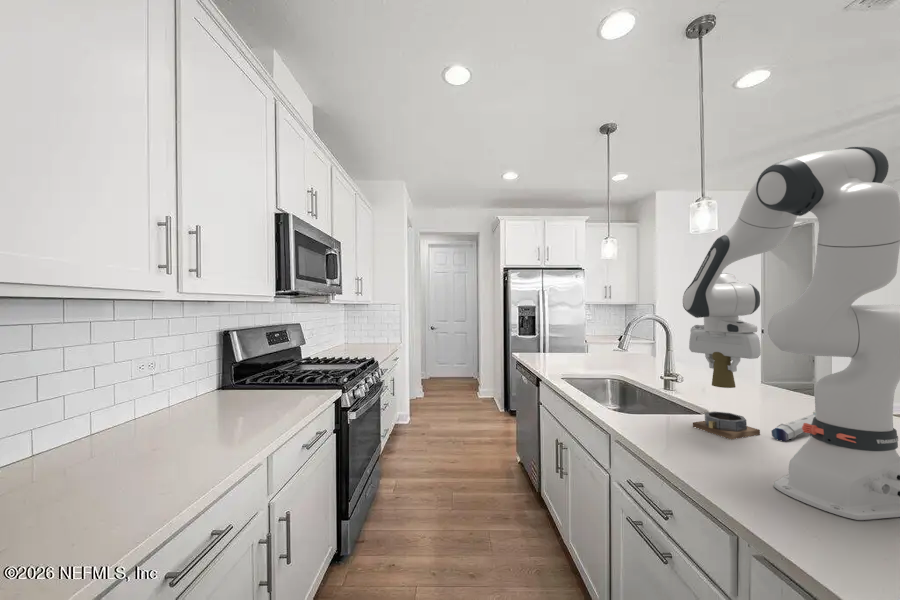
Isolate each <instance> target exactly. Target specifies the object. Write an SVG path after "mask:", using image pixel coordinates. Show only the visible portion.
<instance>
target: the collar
mask: <svg viewBox="0 0 900 600" xmlns="http://www.w3.org/2000/svg"><path fill="white" fill-rule="evenodd" d="M704 421H705V423H706V425H707V426H709V428H712V429H714V428H715V429H719V430H725V431H734V432H739V431H745V430H747V426H748V425H747V419H746V418H745V417H744V416H743V415H739V414H736V413H731V412H725V411H709V412H708V411H707V412H704Z"/></svg>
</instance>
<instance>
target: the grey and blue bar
mask: <svg viewBox="0 0 900 600" xmlns="http://www.w3.org/2000/svg"><path fill="white" fill-rule="evenodd" d="M814 417H815V410H813V412H812V414H810V415H807V416H805V417H801V418H799V419H795V420H793V421H790V422H787V423H781V424H779V425H777V426H776V427H775V428H773V429H772V430H770V431H771V436H772V437H773V438H774V439H775V440H776V439H778V440H777V441H780V440H782V441H781V442H783V441H785V442H786V441H789V439H791V441H793V440H794V439H796V438H797V436H799V435H801V434H803V433H804V432H803V430H802V426H803V424H804V423H808V424H810V425H811V423H812V421H813V418H814Z"/></svg>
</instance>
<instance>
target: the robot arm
mask: <svg viewBox="0 0 900 600" xmlns="http://www.w3.org/2000/svg"><path fill="white" fill-rule="evenodd" d="M888 172H889V161H888V158H887V156H886V155H885V153H883V152H882V151H881V150H879V149H877V148H874V147H871V146H850V147H845V148H842V149H834V150H833V149H832V150H826V151H825V150H824V151H822V150H821V151H815V152H811V153H808V154H804V155H799V156H797V157H794V158H793V157H792V158H786V159H783V160H780V161H778V162H776V163H774V164H772V165H769V166H768V167H766V168H765V169H764V170H763V171H762V172H761V173H760V175H759V176H758V178H757V179H756V180H755V182H754V183H753V186H751V188H750V190H749V192H748V194H747V196H746V197H745V199H744V202H743V203H742V206H741V208H740V212H739V215H738V217H737V219H736V221H735V222H734V223H733V225H732V226H731V228H729V229H728V230H727V231H726V232H725V233H724V234H723V235H721V236H719V237H717V238H716V239H715V241H714V242H713V244H712V245H711V246H710V248H709V250H708V251H707V253H706V256H705V257H704V259H703V261H702V262H701V265H700V266H699V269H698V271H697V273H696V274H695V277H694V278H693V280H692V281H691V283H690V284H689V285H688V287H687V288H686V289H685V291H684V293H683V296H682V307H683V309H684V311H686V312H687V313H688V314H689V315H690V316H692V317H694V318H696V319H699V318H703V324H702V325H700V324H695V325H693V326H692V327H691V328H690V335H689V345H688V349H689V350H690V352H691V353H696V354H697V353H698V354H705V355H704V357H705V359H706V361H707V362H708V364H709V365H708V367H709V369H712V370H713V369H714V360H713V358H712V354H713V353H714V352H720V353H722V354H723V355H724V356H730V357H731V360H732V361H731V365H728V371H732V372H733V373H736V372H737V367H738V365H739V363H741V359H749V360H754V359H758V358H760V356H761V354H762V349H761V343H760V342H761V341H760V340H761V339H760V337H759V335H758V334H756V333H757V332H758V326H757V325H755V324H754V323H753V324H752V323H750V322H746V321H744V320H741V319H739V317H741V316H749V315H753V314H754V313H755V312H756V311H757V310H758V308H759V307H760V305H761V294H760V291H759V290H758V288H756V287H755V286H754V285H753V284H751V283H746V282H743V281H739V280H738V279H736V276H735V275H734V274H732V273H727V272H724V270H725V269H726V268H727V267H728V266H729V265H732V264H733V263H735V262H738V261H740V260H742V259H743V260H744V259H746V258H749V257H753V256H756V255H760V254H763V253H764V254H765V253H767V252H770V251H772V250H774V249H776V248H777V247H779V246H780V245H782V244H783V243H784V242H785V240H786V239H787V238H788V237H789V235H790V233H791V232H792V229H793V227H794V225H795V222H796V220H797V217H801V216H804V215H806V214H808V213H809V212H810V213H812V214H813V215H814V216H815V217H816V219H817V221H818V232H817V233H818V234H817V243H816V244H817V245H816V246H817V248H816V255H815V262H814V263H815V264H814V269H813V273H812V276H811V277H812V278H811V281H810V282H809V284H808V286H807V287H806V289H805V290H804V292H803V293H801V295H800V296H798V298H797V299H795V300H794V301H793V302H791V303H790V304H788V305H786V306H784V307H783V308H781V309H779V310H777V311H776V312H774V314H773V315H772V316H771V317H770V320H769V322H768V324H767V333H768V336H769V338H770V341H771V342H772V343H773V345H774V346H775V347H776V348H778V349H779V350H780V351H782V352H787V353H791V354H798V355H804V356H809V357H810V356H811V357H812V356H813V357H833V358H834V357H837V358H850V362H849V364H848V366H846V367H845V368H844V369H843V370H840V371H837V372H833V373H831V374H828V375H825V376H823V377H822V378H820V379H818V380H817V381H816V383H815V385H814V388H813V389H814V391H813V392H814V411H815V417H814V418H813V421H812V423H811V425H810V424H808V423H804V424H803V426H802V430H803V433H805V434H809V435H810V437H809V438H808V440H807V441H806V442H805V443H804V444H803V445H802V446H801V447H800V448H799V449H798V451H797V452H796V453H795V454H794V455H793V456H792V457H791V459H790V460H789V463H788V474H787V475H785V476H783V477H780V478H778V479H776V480H775V481H773V482H774V483H773V487H774V488H775V489H777V490H778V491H780V493H783V494H785V495H786V496H788V497H791V498H793V499H795V500H797V501H800V502H802V503H804V504H807V505H809V506H812V507H814V508H816V509H820V510H822V511H825V512H828V513H830V514H835V515H837V516H840V517H844V518H848V519H852V520H857V521H864V520H865V521H867V520H878V519H879V520H881V519H887V518H889V519H890V518H900V455H899V453H898V452H897V450H896V449H898V448H899V436H898V433H897V429H896V428H894V400H895V393H896V389H897V386H898V384H899V383H900V305H899V304H857V305H856V304H854V305H853V303H854V302H855V301H857V300H858V299H860V298H861V297H862V296H865V295H866V294H869V293H872V292H874V291H877V290H880V289H882V288H885V286H888V284H890V283H891V282H892V281H893V280H894V279H895V277H896V275H897V272H898V262H899V254H900V197H899V193H898V191H897V189H895V188H894V187H893V186H892V185H889V184H886V183H883V182H884V181H885V179H886V177H887V176H888ZM723 272H724V273H723Z"/></svg>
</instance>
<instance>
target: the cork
mask: <svg viewBox="0 0 900 600" xmlns="http://www.w3.org/2000/svg"><path fill="white" fill-rule="evenodd" d="M712 358H713V360H714V369H712V378H711V379H712V381H711V386H713V387H716V388H724V389H735V388H736V382H735V376H734V372H732V371H728V365H731V363H732V361H733V360H731V357H730V356H724V355H723V354H722V353H720V352H714V353H713V354H712Z"/></svg>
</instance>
